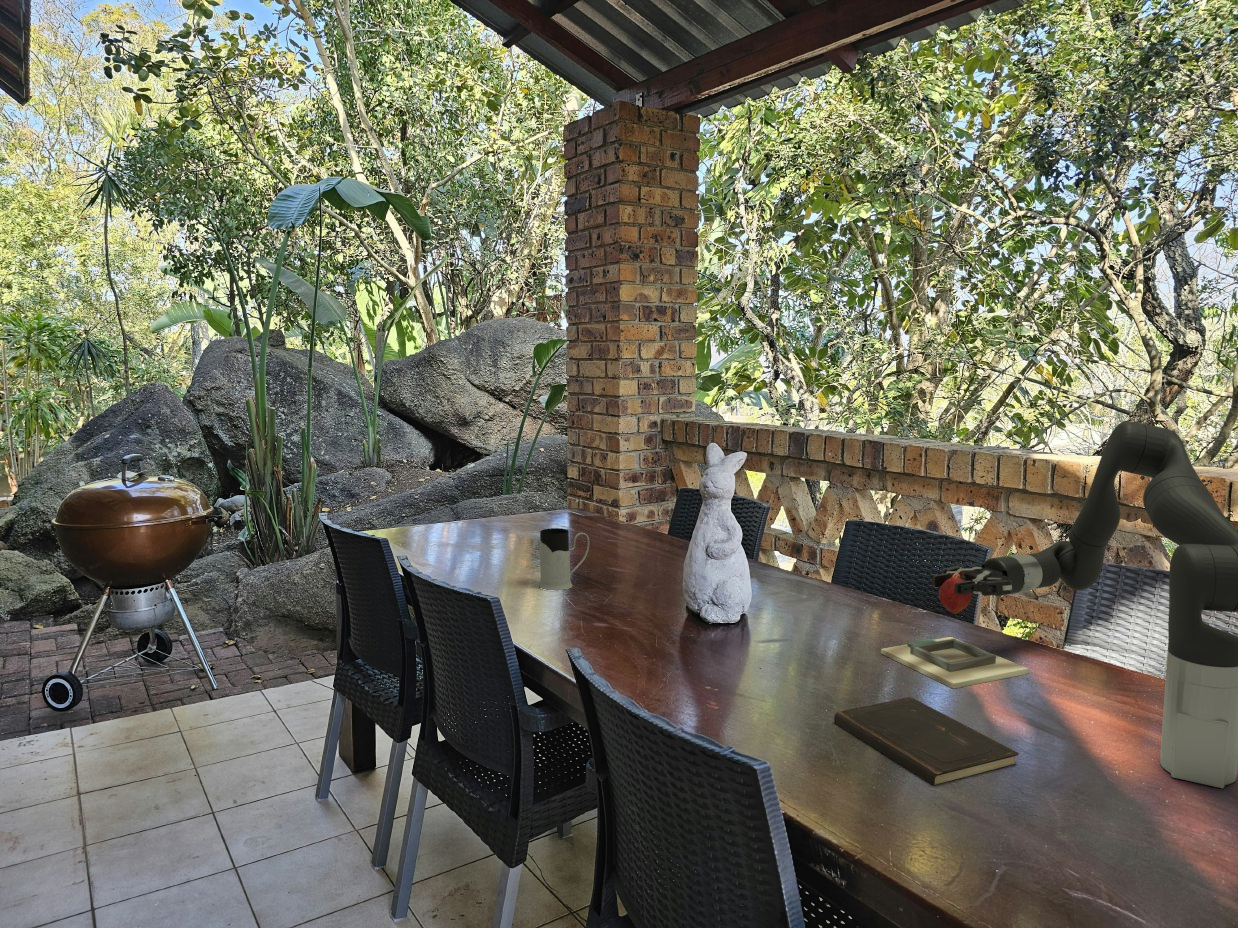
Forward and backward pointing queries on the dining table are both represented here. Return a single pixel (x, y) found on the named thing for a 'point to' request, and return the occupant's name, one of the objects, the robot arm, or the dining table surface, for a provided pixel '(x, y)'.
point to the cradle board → (953, 662)
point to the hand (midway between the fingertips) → (944, 585)
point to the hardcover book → (925, 740)
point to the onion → (953, 595)
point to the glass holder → (556, 558)
